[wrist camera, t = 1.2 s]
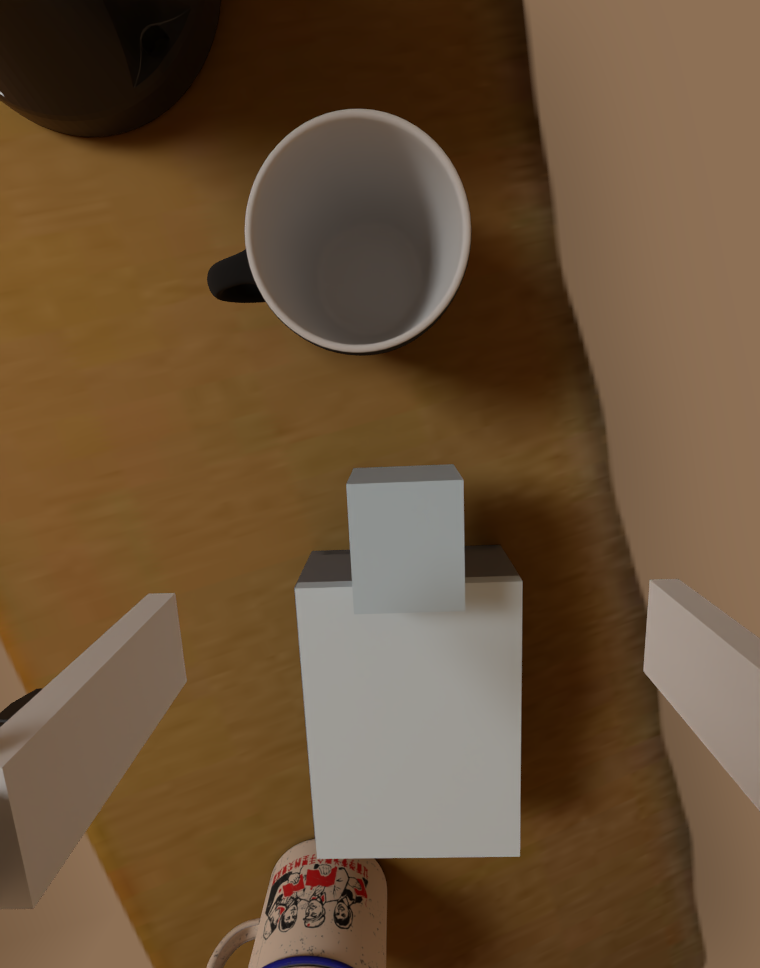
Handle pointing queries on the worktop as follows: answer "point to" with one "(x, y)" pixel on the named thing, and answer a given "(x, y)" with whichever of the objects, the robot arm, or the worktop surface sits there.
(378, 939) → the teacup with lid
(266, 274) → the mug
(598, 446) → the worktop surface
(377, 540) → the lid
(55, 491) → the worktop surface
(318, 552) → the tub
